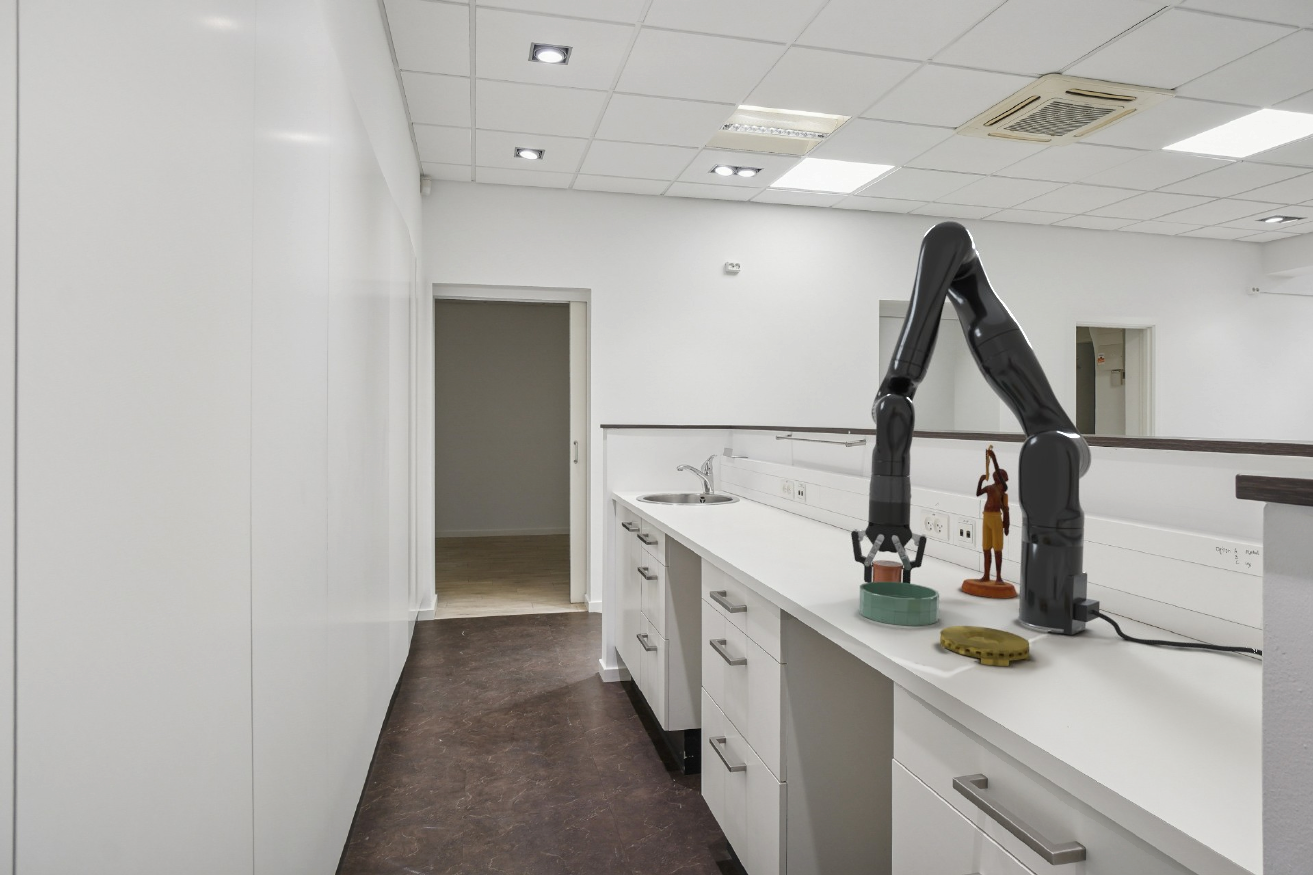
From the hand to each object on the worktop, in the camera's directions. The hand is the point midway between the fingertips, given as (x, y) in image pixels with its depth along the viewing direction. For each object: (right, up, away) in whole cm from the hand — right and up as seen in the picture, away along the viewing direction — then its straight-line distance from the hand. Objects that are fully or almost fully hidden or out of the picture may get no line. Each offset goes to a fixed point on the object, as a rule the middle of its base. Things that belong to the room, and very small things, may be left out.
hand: (887, 586), depth 136 cm
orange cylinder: (0, -3, 0) cm, 3 cm away
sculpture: (+24, -3, +9) cm, 25 cm away
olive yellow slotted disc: (+5, -4, -30) cm, 30 cm away
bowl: (-2, -3, -12) cm, 13 cm away
